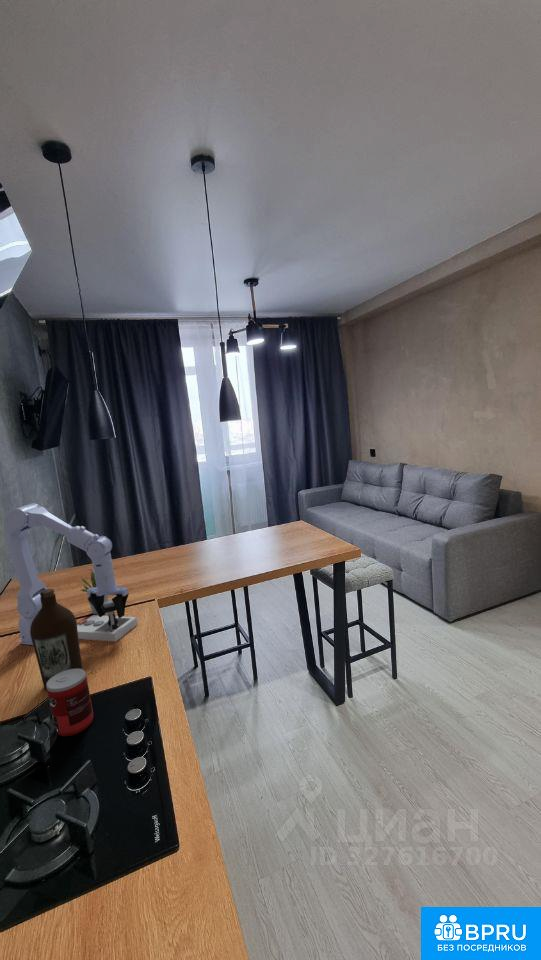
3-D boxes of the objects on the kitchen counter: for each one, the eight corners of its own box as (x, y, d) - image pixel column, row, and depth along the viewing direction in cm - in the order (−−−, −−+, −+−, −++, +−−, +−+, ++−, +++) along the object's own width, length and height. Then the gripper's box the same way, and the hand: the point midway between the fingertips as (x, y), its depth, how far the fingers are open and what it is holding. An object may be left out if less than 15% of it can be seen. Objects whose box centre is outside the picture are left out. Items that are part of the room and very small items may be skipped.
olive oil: (48, 675, 114) (31, 587, 111) (89, 666, 116) (73, 580, 113) (35, 699, 104) (16, 603, 101) (81, 688, 106) (63, 594, 103)
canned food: (63, 715, 96) (54, 671, 95) (99, 710, 97) (90, 665, 95) (48, 740, 88) (38, 692, 87) (87, 733, 89) (78, 685, 88)
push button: (123, 633, 134) (118, 604, 132) (105, 638, 132) (100, 608, 131) (122, 625, 140) (117, 596, 139) (105, 629, 138) (100, 601, 137)
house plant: (132, 605, 156) (124, 563, 154) (99, 622, 145) (91, 576, 143) (107, 600, 164) (100, 560, 162) (75, 616, 152) (67, 573, 150)
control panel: (69, 638, 135) (68, 629, 135) (94, 622, 145) (92, 613, 145) (115, 641, 129) (114, 632, 129) (137, 624, 139) (136, 615, 139)
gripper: (77, 580, 132) (84, 621, 134) (115, 580, 127) (122, 622, 129) (93, 572, 139) (100, 611, 140) (129, 572, 134) (136, 612, 136)
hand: (111, 616), depth 135 cm, fingers open, 7 cm apart
